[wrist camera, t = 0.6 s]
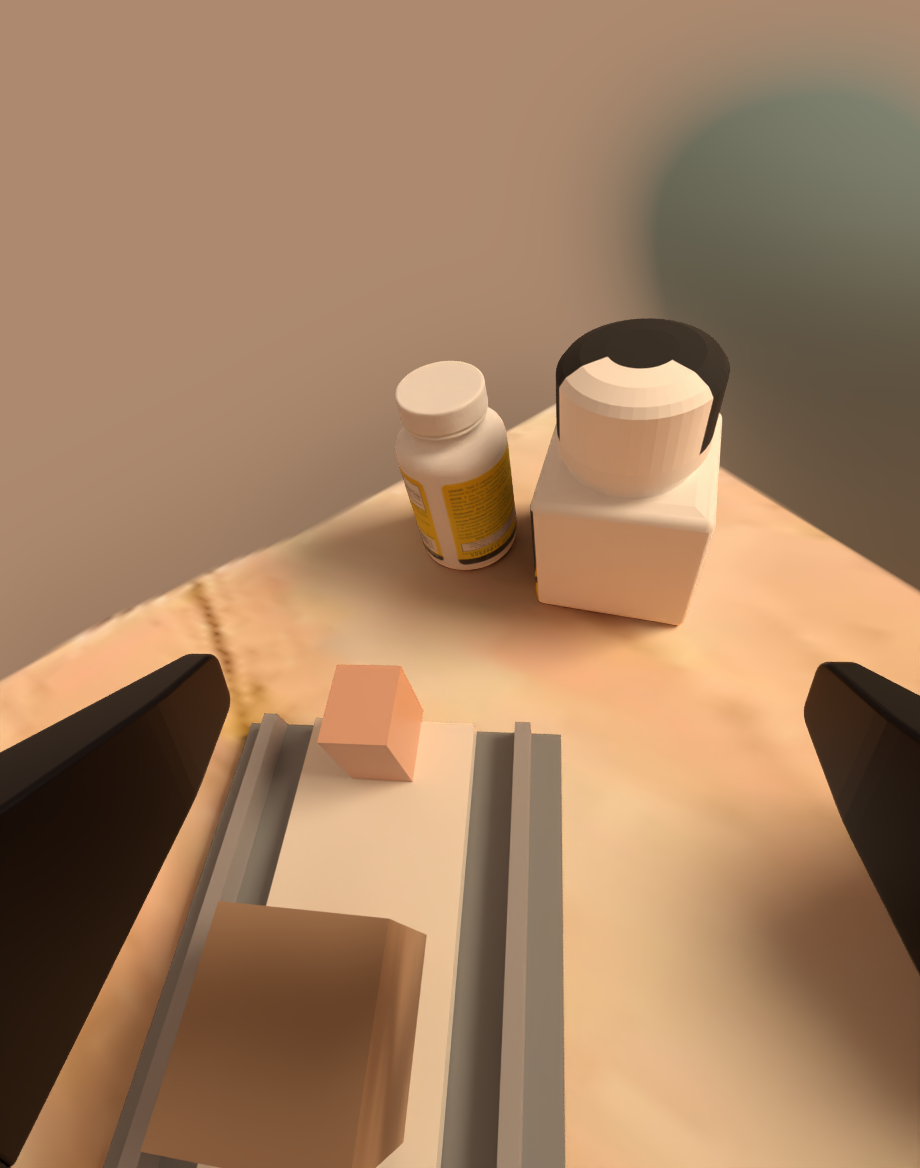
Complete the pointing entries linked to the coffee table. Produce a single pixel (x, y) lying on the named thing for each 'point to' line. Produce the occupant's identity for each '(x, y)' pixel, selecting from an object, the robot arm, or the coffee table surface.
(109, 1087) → the coffee table surface
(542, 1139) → the lane board
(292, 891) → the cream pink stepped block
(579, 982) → the coffee table surface
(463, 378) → the supplement bottle
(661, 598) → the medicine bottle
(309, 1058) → the walnut block
